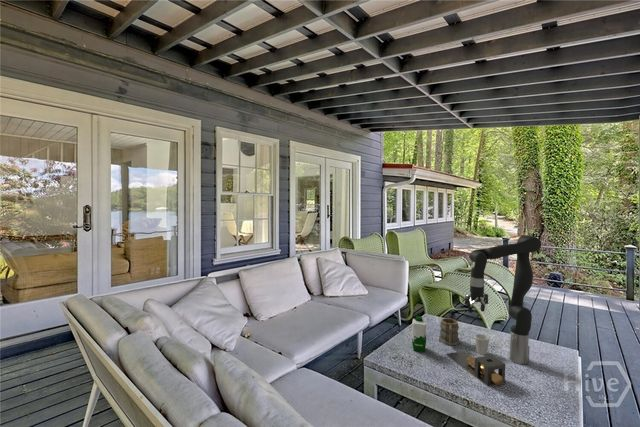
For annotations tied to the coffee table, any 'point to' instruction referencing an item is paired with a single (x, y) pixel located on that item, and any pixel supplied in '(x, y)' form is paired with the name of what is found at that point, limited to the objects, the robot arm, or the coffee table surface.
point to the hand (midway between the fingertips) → (476, 311)
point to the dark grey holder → (487, 361)
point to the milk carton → (419, 334)
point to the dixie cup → (481, 343)
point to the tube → (494, 376)
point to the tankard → (449, 331)
